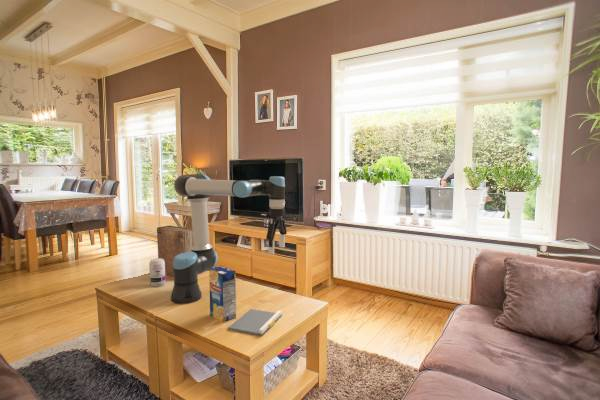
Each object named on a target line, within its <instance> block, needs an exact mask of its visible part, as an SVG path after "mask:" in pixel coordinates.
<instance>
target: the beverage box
mask: <svg viewBox="0 0 600 400" xmlns="http://www.w3.org/2000/svg"><path fill="white" fill-rule="evenodd" d="M208 273H209V274H208V278H209V279H208V280H209V281H208V282H209V315H210V317H212V318H214V319H216V320H218V321H219V322H221V323H223V324H224V323H226V322H229V321H232V320H234V319H236V318H237V290H236V289H237V288H236V283H237V282H236V281H237V279H236V270H234V269H231V268H229V267H226V266H223V265H221V266H217V267H216V266H215V267H213V268H212V269H209V271H208Z"/></svg>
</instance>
